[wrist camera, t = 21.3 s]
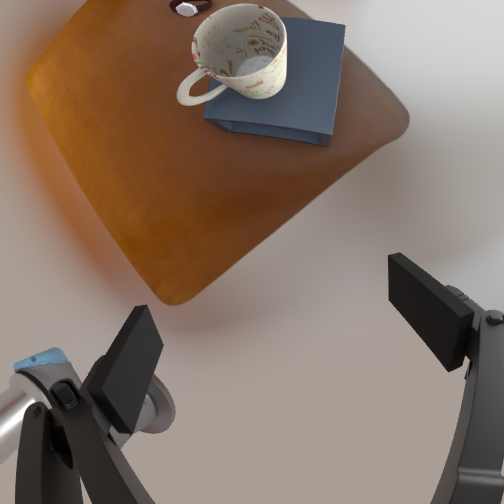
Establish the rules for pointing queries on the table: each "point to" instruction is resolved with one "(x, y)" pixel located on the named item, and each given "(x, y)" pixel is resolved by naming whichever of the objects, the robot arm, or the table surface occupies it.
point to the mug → (239, 53)
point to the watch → (188, 7)
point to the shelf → (290, 90)
